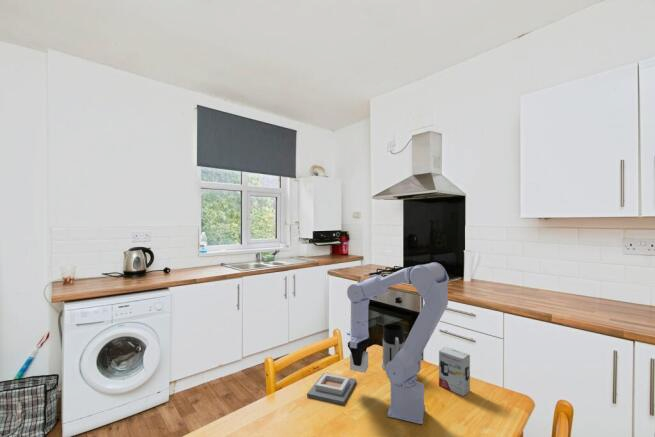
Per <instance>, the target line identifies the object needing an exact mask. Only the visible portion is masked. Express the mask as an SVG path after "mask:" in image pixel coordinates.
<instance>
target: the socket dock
mask: <svg viewBox="0 0 655 437" xmlns="http://www.w3.org/2000/svg"><path fill="white" fill-rule="evenodd" d="M356 384H357V379H356V378H352V377H348V376H347V377H346V376H341V375H336V374H331V373H326V372H323V373H322V375H321V376H319V378H318V380H316V382H315V383H314V384H313V385H312V386H311V388H310V389H309V390H308V392H307V393H306V397H307V398H311V399H315V400H320V401H325V402H328V403H333V404H337V405H342V406H344V405H345V404H346V401H347V400H348V399H349V396H350V394H351V393H352V392H353V389H354V387H355V385H356Z"/></svg>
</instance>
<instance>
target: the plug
mask: <svg viewBox="0 0 655 437" xmlns="http://www.w3.org/2000/svg"><path fill="white" fill-rule="evenodd" d="M368 368H369V351H367V350H366V351H363V355H362V362H361V366H356V365H354V363H353V358H352V354H351V353H350V354H349V370H350V371H353V372H359V373H364V374H366V372H367V370H368Z"/></svg>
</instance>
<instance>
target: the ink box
mask: <svg viewBox="0 0 655 437" xmlns="http://www.w3.org/2000/svg"><path fill="white" fill-rule="evenodd" d="M438 386H439V387H442V388H444V389H446V390H449V391H451V392H453V393H455V394H458V395H460V396H462V397H463V396H466V395H467V394H469V392H471V356H470V354H469V353H467V352H464V351H461V350H457V349H455V348H452V347H449V346H446V347H445V346H444V347H443V348H441V349H439V351H438Z"/></svg>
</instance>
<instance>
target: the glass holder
mask: <svg viewBox="0 0 655 437" xmlns="http://www.w3.org/2000/svg"><path fill="white" fill-rule="evenodd" d="M382 329H383V330H382V331H383V332H382V334H383V335H382V363H381V369H383V370H384V371H385V372H386V365H387V363H388V362H390V361H392V360H393V359H394V357H395V355H396V354H397V353H398V352H399V351H400V350H401V349H402V347H403V345H404V343H405V339H404V326H402V325H401V324H395V323H388V324H384V325H383V328H382Z"/></svg>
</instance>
